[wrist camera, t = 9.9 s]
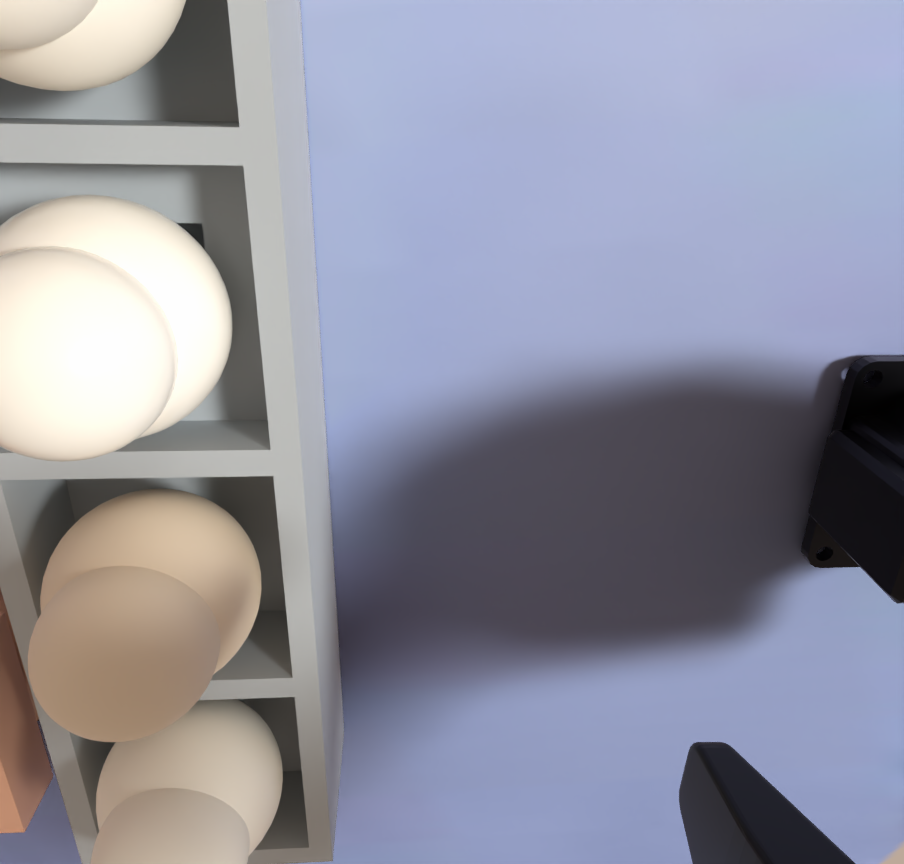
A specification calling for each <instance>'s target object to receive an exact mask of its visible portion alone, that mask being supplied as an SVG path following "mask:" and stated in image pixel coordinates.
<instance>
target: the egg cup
mask: <svg viewBox="0 0 904 864" xmlns="http://www.w3.org/2000/svg"><path fill="white" fill-rule="evenodd" d="M38 720H39V717H38V713H37V710H36V706H35V703H34V700H33V696H32V693H31V690H30V686H29V683H28V679H27V676H26V673H25V669H24V666H23V663H22V659H21V656H20V653H19V649H18V646H17V642H16V639H15V636H14V632H13V629H12V626H11V622H10V619H9V615H8V612H7V609H6V605H5V602H4V599H3V595H2V592H1V588H0V833H16V832H25V831H26V829H27V827H28V825H29V823H30V821H31V819H32V817H33V815H34V813H35V811H36V809H37V807H38V805H39V803H40V801H41V799H42V797H43V795H44V793H45V791H46V789H47V787H48V786H49V784H50V782H51V780H52V778H53V773H52V769H51V766H50V763H49V759H48V756H47V753H46V749H45V746H44V743H43V739H42V736H41V733H40V729H39V726H38V723H37V721H38Z"/></svg>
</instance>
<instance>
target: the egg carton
mask: <svg viewBox="0 0 904 864" xmlns="http://www.w3.org/2000/svg"><path fill="white" fill-rule="evenodd" d="M88 194H91V195H103V196H111V197H116V198H121V199H126V200H130V201H133V202H136V203H139V204H142V205H145V206H147V207H149V208H151V209H153V210H155V211H157V212H159V213H161V214H163V215H165V216H166V217H168V218H169V219H171V220H172V221H174V222H176V223H177V224H178V225H179V226H181V227H182V228H183V229H184V230H186V231H187V232H188V233H189V234H190V235H191V236H192V237H193V238H194V239H195V240H196V241H197V242H198V243H199V244H200V245H201V246H202V248H203V249H204V250H205V251H206V253H207V254H208V255H209V256H210V258H211V260H212V261H213V263H214V264H215V266H216V268H217V269H218V271H219V273H220V275H221V277H222V280H223V282H224V284H225V287H226V290H227V293H228V296H229V300H230V305H231V311H232V341H231V348H230V352H229V356H228V360H227V362H226V365H225V367H224V369H223V372H222V374H221V377H220V379H219V380H218V382H217V384H216V385H215V387H214V388H213V390H212V391H211V392H210V394H209V395H208V396H207V397H206V398H205V399H204V401H203V402H202V403H201V404H200V405H199V406H198V407H197V408H196V409H195V410H194V411H193V412H191V413H190V414H189V415H188V416H186V417H185V418H183V419H182V420H180V421H178V422H177V423H175V424H174V425H172V426H170V427H168V428H166V429H164V430H162V431H160V432H157V433H154V434H151V435H148V436H144V437H141V438H138V439H135V440H133V441H132V442H130V443H129V444H127V445H126V446H124V447H122V448H120V449H118V450H116V451H114V452H111V453H108V454H105V455H102V456H99V457H96V458H92V459H86V460H80V461H64V462H59V461H46V460H40V459H34V458H30V457H26V456H23V455H19V454H16V453H14V452H11V451H8V450H6V449H4V448H2V447H0V588H1V592H2V595H3V599H4V602H5V605H6V609H7V612H8V615H9V619H10V622H11V626H12V629H13V632H14V636H15V639H16V642H17V646H18V649H19V653H20V656H21V659H22V663H23V666H24V669H25V673H26V676H27V679H28V683H29V686H30V690H31V693H32V696H33V700H34V703H35V706H36V710H37V713H38V717H39V720H40V723H41V727H42V730H43V733H44V737H45V740H46V744H47V747H48V750H49V754H50V757H51V760H52V764H53V767H54V771H55V774H56V777H57V781H58V784H59V787H60V791H61V794H62V797H63V801H64V804H65V808H66V811H67V814H68V818H69V821H70V824H71V828H72V831H73V835H74V838H75V841H76V845H77V848H78V851H79V855H80V858H81V862H82V864H284V863H304V862H325V861H333V851H334V840H335V828H336V817H337V806H338V795H339V783H340V772H341V761H342V749H343V738H344V721H343V705H342V688H341V672H340V655H339V638H338V622H337V605H336V589H335V572H334V556H333V539H332V522H331V506H330V489H329V473H328V456H327V440H326V423H325V406H324V390H323V373H322V357H321V340H320V324H319V307H318V290H317V274H316V257H315V241H314V224H313V208H312V191H311V175H310V158H309V141H308V125H307V108H306V92H305V75H304V59H303V42H302V25H301V9H300V0H0V226H1V225H2V224H3V223H4V222H6V221H7V220H8V219H10V218H11V217H12V216H14V215H16V214H18V213H20V212H22V211H24V210H25V209H27V208H29V207H31V206H33V205H35V204H38V203H41V202H44V201H47V200H50V199H56V198H61V197H66V196H72V195H88Z"/></svg>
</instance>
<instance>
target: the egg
mask: <svg viewBox="0 0 904 864" xmlns="http://www.w3.org/2000/svg"><path fill="white" fill-rule="evenodd" d="M231 341H232V311H231V305H230V300H229V296H228V293H227V290H226V287H225V284H224V282H223V280H222V277H221V275H220V273H219V271H218V269H217V268H216V266H215V264H214V263H213V261H212V260H211V258H210V256H209V255H208V254H207V253H206V251H205V250H204V249H203V248H202V246H201V245H200V244H199V243H198V242H197V241H196V240H195V239H194V238H193V237H192V236H191V235H190V234H189V233H188V232H187V231H186V230H184V229H183V228H182V227H181V226H179V225H178V224H177V223H176V222H174V221H172V220H171V219H169V218H168V217H166V216H165V215H163V214H161V213H159V212H157V211H155V210H153V209H151V208H149V207H147V206H145V205H142V204H139V203H136V202H133V201H130V200H126V199H121V198H116V197H111V196H103V195H91V194H88V195H72V196H66V197H61V198H56V199H50V200H47V201H44V202H41V203H38V204H35V205H33V206H31V207H29V208H27V209H25V210H24V211H22V212H20V213H18V214H16V215H14V216H12V217H11V218H10V219H8V220H7V221H6V222H4V223H3V224H2V225H1V226H0V447H2V448H4V449H6V450H8V451H11V452H14V453H16V454H19V455H23V456H26V457H30V458H34V459H40V460H46V461H59V462H64V461H80V460H86V459H92V458H96V457H99V456H102V455H105V454H108V453H111V452H114V451H116V450H118V449H120V448H122V447H124V446H126V445H127V444H129V443H130V442H132V441H133V440H135V439H138V438H141V437H144V436H148V435H151V434H154V433H157V432H160V431H162V430H164V429H166V428H168V427H170V426H172V425H174V424H175V423H177V422H178V421H180V420H182V419H183V418H185V417H186V416H188V415H189V414H190V413H191V412H193V411H194V410H195V409H196V408H197V407H198V406H199V405H200V404H201V403H202V402H203V401H204V399H205V398H206V397H207V396H208V395H209V394H210V392H211V391H212V390H213V388H214V387H215V385H216V384H217V382H218V380H219V379H220V377H221V374H222V372H223V369H224V367H225V365H226V362H227V360H228V356H229V352H230V348H231Z"/></svg>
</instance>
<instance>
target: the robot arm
mask: <svg viewBox="0 0 904 864" xmlns="http://www.w3.org/2000/svg"><path fill="white" fill-rule="evenodd" d="M870 371H874V374H873V376H872V378H871V379H870V380H869V381H867V382H864V378H865V376H866V374H868V373H869V372H870ZM809 514H810V516H809V520H808V524H807V528H806V532H805V535H804V539H803V543H802V550H801V552H802V554H803V556H804V557H805V558H806V559H807V561H808V562H809V563H810V564H811V565H813V566H814V567H819V568H833V567H861V568H862V569H863V570H864V571H865V572H866V573H867V574H868V575H869V576H870V578H871V579H872V580H873V581H874V582H875V583H876V584H877V585H878V586H879V587H880V588H881V589H882V590H883V591H884V592H885V593H886V594H887V595H888V596H889V597H890V598H891V599H892V600H893V601H894V602H896V603H904V356H868V357H863V358H860V359H859V360H857V361H855V362H854V363H853V364H852V365H851V366H850V368H849V370H848V372H847V374H846V378H845V382H844V386H843V390H842V393H841V397H840V401H839V405H838V409H837V413H836V416H835V420H834V424H833V428H832V432H831V434H830V436H829V437H828V438H827V442H826V445H825V449H824V453H823V457H822V461H821V465H820V469H819V472H818V476H817V480H816V484H815V488H814V492H813V496H812V499H811V503H810V507H809ZM822 547H825V549H824V550H823V551H821V552H819V553H817V552H818V550H819V549H821V548H822ZM679 803H680V810H681V815H682V819H683V823H684V828H685V832H686V836H687V841H688V845H689V849H690V854H691V858H692V862H693V864H855V863H854V862H853V861H852V860H851V859H850V858H849V857H848V856H847V855H846V854H845V853H844V852H843V851H841V850H840V849H839V848H838V847H837V846H836V845H835V844H834V843H833V842H832V841H831V840H830V839H829V838H828V837H827V836H826V835H824V834H823V833H822V832H821V831H820V830H819V829H818V828H817V827H816V826H815V825H814V824H813V823H812V822H811V821H810V820H809V819H808V818H806V817H805V816H804V815H803V814H802V813H801V812H800V811H799V810H798V809H797V808H796V807H795V806H794V805H793V804H792V803H791V802H789V801H788V800H787V799H786V798H785V797H784V796H783V795H782V794H781V793H780V792H779V791H778V790H777V789H776V788H775V787H774V786H772V785H771V784H770V783H769V782H768V781H767V780H766V779H765V778H764V777H763V776H762V775H761V774H760V773H759V772H758V771H757V770H755V769H754V768H753V767H752V766H751V765H750V764H749V763H748V762H747V761H746V760H745V759H744V758H743V757H742V756H741V755H740V754H739V753H737V752H736V751H735V750H734V749H733V748H732V747H731V746H729V745H728V744H726V743H722V742H697V743H694V744H693V745H692V746H691V747H690V749H689V752H688V756H687V760H686V764H685V768H684V772H683V777H682V781H681V785H680V790H679Z"/></svg>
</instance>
